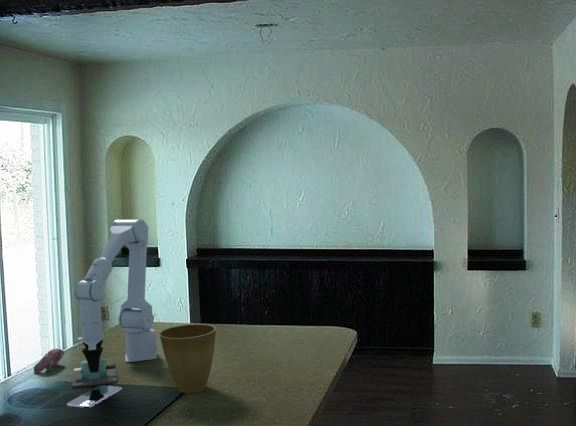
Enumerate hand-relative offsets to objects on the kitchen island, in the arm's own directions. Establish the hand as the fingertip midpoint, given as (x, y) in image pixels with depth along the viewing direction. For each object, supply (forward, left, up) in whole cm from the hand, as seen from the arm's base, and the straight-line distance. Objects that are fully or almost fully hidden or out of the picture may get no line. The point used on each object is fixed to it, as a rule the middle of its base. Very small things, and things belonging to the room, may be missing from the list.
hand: (94, 368), depth 190 cm
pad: (0, 0, -3) cm, 3 cm away
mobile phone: (0, +16, -4) cm, 16 cm away
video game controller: (+13, -17, -3) cm, 22 cm away
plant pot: (-25, +20, -3) cm, 32 cm away
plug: (0, 0, -2) cm, 2 cm away
